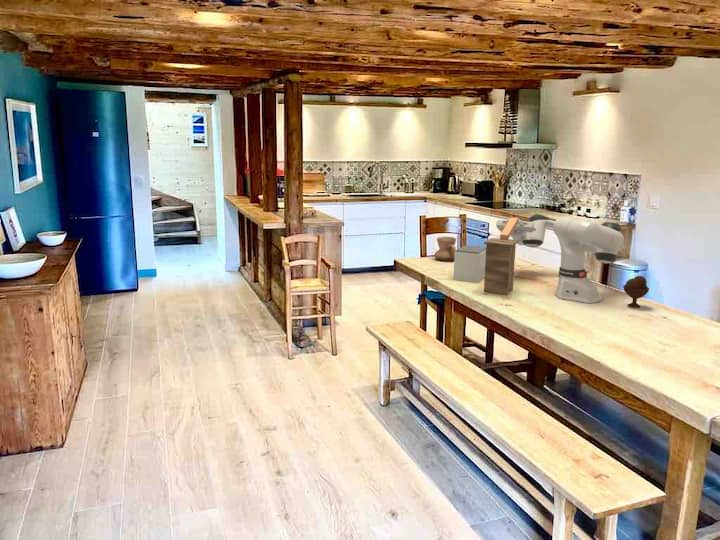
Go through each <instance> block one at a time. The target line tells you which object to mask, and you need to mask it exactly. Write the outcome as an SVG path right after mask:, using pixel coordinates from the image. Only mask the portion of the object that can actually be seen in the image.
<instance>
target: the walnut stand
mask: <svg viewBox="0 0 720 540" xmlns="http://www.w3.org/2000/svg"><path fill="white" fill-rule="evenodd" d="M517 243H518V240H513V239H510V238H509V239H508V240H505V239H500V238H498V237H497V238H495V237H491V238H489V239H487V240H486V241H484V242H483V245H485V247H486V260H485V278H484V279H483V280H484V281H483V293H488V294H495V295H496V294H497V295H503V296H504V295H505V296H508V295H509V294H510V293H511V292H513V289H514V276H515V275H514V274H515V273H514V272H515V263H516V262H515V261H516V260H515V259H516V258H515V257H516V248H517Z"/></svg>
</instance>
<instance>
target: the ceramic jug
mask: <svg viewBox="0 0 720 540" xmlns="http://www.w3.org/2000/svg"><path fill="white" fill-rule="evenodd" d="M436 242H437V246H438V250H437V251H435V252H434V258H435V259H436V260H439V261H443V262H451V261H454V257H455V251H456V250H457V249H456V242H457V238H456V237H453V236H438V237H437V238H436Z"/></svg>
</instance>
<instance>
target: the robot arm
mask: <svg viewBox="0 0 720 540" xmlns="http://www.w3.org/2000/svg"><path fill="white" fill-rule="evenodd" d="M509 220H510V218H507V219H498V220H496V224H495V226H496V229H498V230H499V231H500V233H501V232H502V231H503V229H504V228H505V226H506V224H507V223H508V221H509ZM547 227H550V228H552V231H553V233H554V234H555V235H556V237H557V239H558V242H559V246H560V266H559V268H558V282H557V286H556V290H555V292H554V295H555V296H556V297H558V298H557V299H561V300H567V301H573V302H579V303H585V304H594V303H595V304H596V303H598V302H601V301H602V300H603V296H601V295H599V291H598V286H597V285H596V284H595V283H594V282H593V281H592V280H591V279H590V278H589V277H587V275H588V274H589V272H590V271H589V270H587V271H586V269H585V262H586V261H585V260H586V253H587V254H588V253H590V254H591V253H592V254H593V256H594V257H595V259H596V261H598V262H600V263H602V264H612V263H615V262H616V260H617V258H618V252H619V249H620V248H621V247H622V246H623V244H624V241H625V238H624V234H622V233H621V232H622V227H621V225H620V224H619V223H618V222H615V221H605V222H602V223H601V224H598V223H596V222H593V221H590V220H589V219H588V220H587V219H582V218H578V217H577V218H576V217H573V216H572V217H571V216H561V217H558V218H557V219H555V218H551V217H548V216H546V215H543V214H541V213H540V214H539V213H536V214H535V213H534V214H533V215H531V216H530V217H529V218H528V221H524V220H521V219H519V218H518V219H517V225H516V227H515V229H514V230H513V232H512V234H511V235H510V237H511V239H512V240H518V243H516V245H518V246H525V247H528V248H538V247H540V246H542V245H543V244H544V241H545V235H546V230H547Z"/></svg>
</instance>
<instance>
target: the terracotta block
mask: <svg viewBox="0 0 720 540" xmlns="http://www.w3.org/2000/svg"><path fill="white" fill-rule="evenodd" d="M509 219H510V220H509V221H508V223H507V224H506V226H505V228H504V229H503V231H502V232H501V231H500V234H499V239H505V240H508V239H509V240H510V237H511V236H510V235H511V234H512V232H513V230H514V229H515V227H516V225H517V219H519V217H510V218H509Z"/></svg>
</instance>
